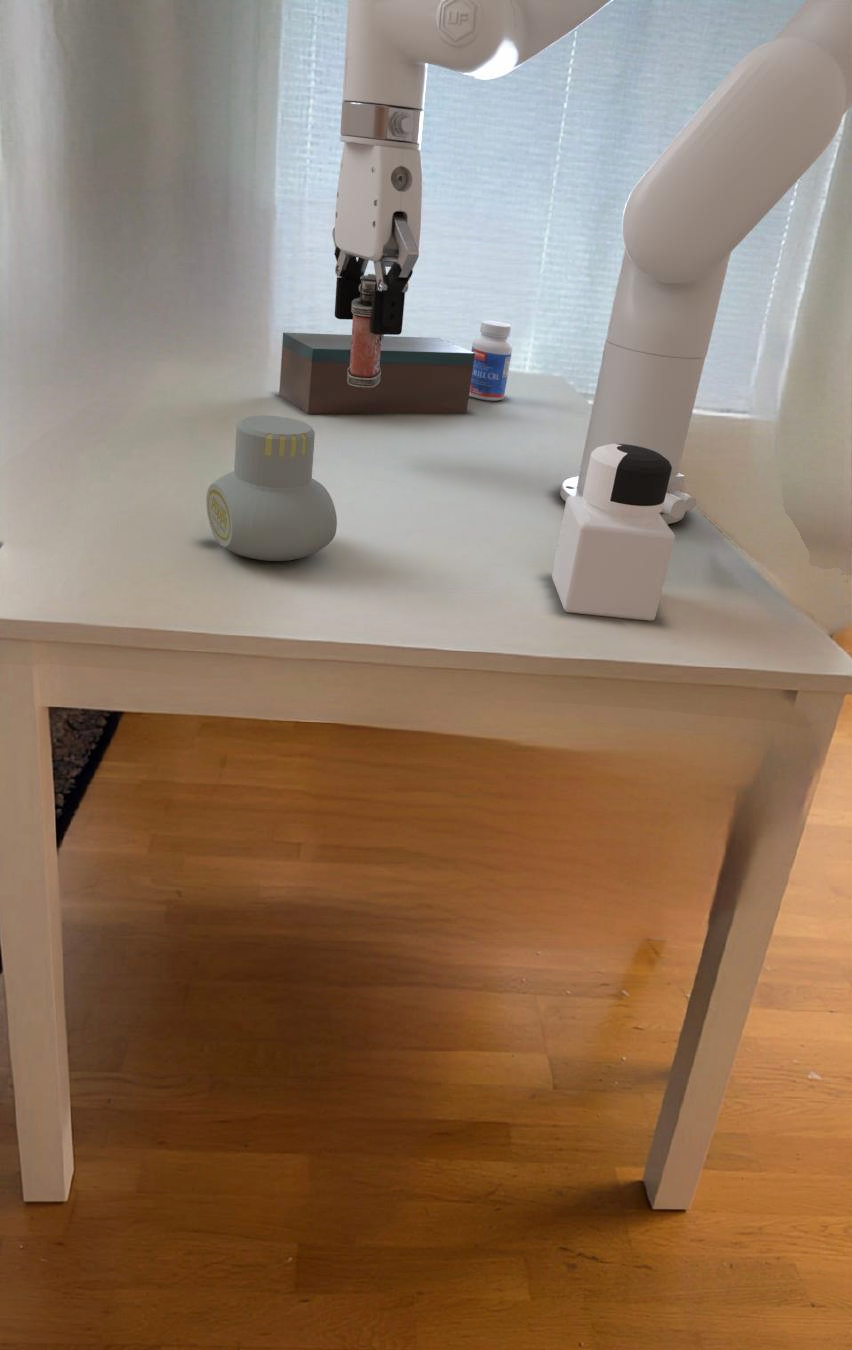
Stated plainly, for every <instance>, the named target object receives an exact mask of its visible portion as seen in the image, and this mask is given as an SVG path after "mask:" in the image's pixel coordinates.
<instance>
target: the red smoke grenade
mask: <svg viewBox="0 0 852 1350" xmlns="http://www.w3.org/2000/svg"><path fill="white" fill-rule="evenodd" d="M373 290H378V287H377V281H376V275H375V273H367V275H365V274H364V275H362V281H361V284H360V285H359V291H360V292H361V294H360V297H359V298H356V299H354V300H353V301H352V307H351V312H352V313H353V320H352V325H351V326H352V327H351V335H352V340H351V356H350V367H349V368H348V372H347V382H348V384H349V385H352V386H357V387H374V386H376V385H377V384H378V383H379V382H380V377H381V369H380V368H379V364H380V350H381V341H382V340H383V336H385V335H376V334H373V333H371V331H370V326H371V312H372V299H373Z"/></svg>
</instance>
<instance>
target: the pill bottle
mask: <svg viewBox="0 0 852 1350" xmlns="http://www.w3.org/2000/svg"><path fill="white" fill-rule="evenodd" d="M511 329H512V325H511V324H509V323H507V322H506V323H505V322H502V321H497V320H488V319H487V320H486V319H485V320H482V321H481V323H480V329H479V333H481V334H480V336H477V337H475V338H474V340H473V341H472V345H471V350H470V351H471V352H473V353H475V358H474V365H473V372H472V379H471V386H470V393H469V397H471V398H473V399H478V400H482V401H489V402H494V401H495V402H496V401H501V400H503V399H504V397H505V393H506V388H507V382H508V377H509V371H510V366H511V359H512V353H513V345H512V343H511V342H510V341H508V338H509V337H510V335H511Z"/></svg>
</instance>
